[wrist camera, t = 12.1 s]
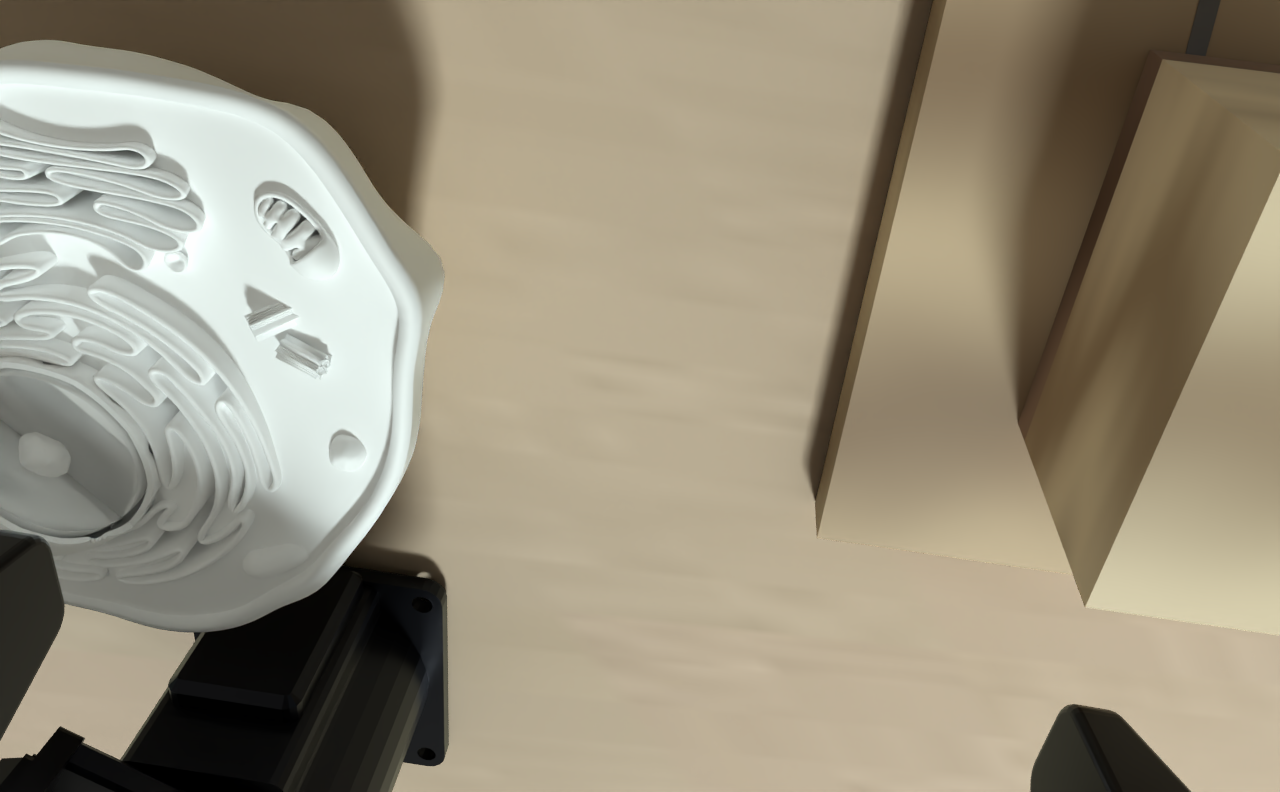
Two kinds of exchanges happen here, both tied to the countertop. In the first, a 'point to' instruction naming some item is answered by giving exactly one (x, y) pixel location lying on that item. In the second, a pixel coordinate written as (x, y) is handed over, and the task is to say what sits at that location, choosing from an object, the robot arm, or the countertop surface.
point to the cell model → (196, 337)
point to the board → (991, 261)
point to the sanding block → (1173, 358)
